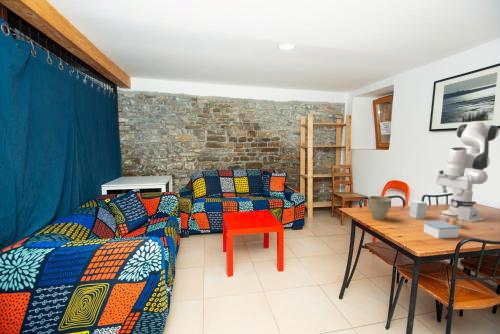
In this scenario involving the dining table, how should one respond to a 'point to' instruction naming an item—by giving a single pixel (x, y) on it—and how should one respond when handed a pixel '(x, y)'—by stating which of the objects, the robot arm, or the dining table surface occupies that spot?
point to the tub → (441, 232)
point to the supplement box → (418, 209)
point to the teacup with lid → (449, 216)
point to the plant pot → (379, 206)
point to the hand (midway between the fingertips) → (451, 194)
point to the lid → (443, 224)
